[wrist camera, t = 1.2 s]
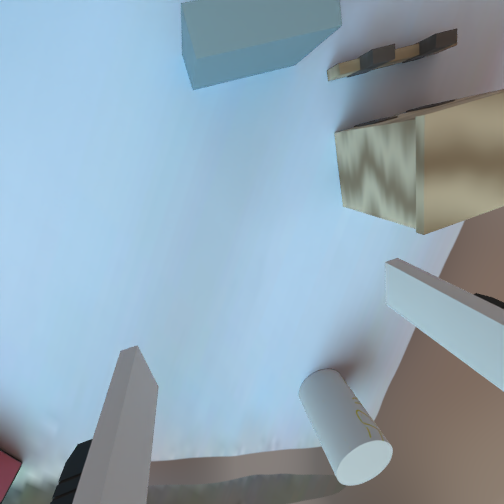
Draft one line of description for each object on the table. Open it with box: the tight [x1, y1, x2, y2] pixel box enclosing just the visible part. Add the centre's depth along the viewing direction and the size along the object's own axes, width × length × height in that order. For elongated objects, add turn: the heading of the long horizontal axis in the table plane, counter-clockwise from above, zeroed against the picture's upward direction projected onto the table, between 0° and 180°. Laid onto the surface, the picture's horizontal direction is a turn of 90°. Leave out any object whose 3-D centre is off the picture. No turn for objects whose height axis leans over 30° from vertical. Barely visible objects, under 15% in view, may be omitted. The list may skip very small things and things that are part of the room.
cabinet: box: [327, 29, 504, 235], centre depth 26 cm, size 16×14×13 cm
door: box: [181, 0, 342, 90], centre depth 22 cm, size 4×11×9 cm, turn 105°
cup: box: [299, 369, 393, 485], centre depth 39 cm, size 8×8×12 cm
